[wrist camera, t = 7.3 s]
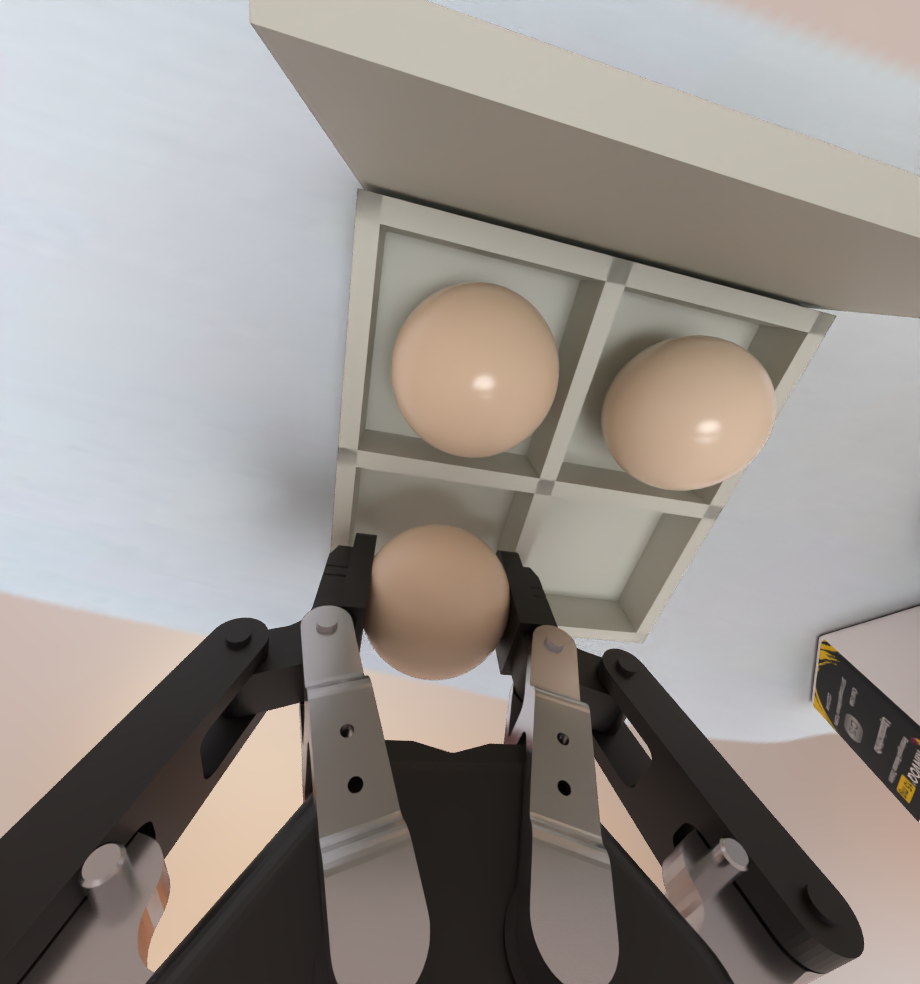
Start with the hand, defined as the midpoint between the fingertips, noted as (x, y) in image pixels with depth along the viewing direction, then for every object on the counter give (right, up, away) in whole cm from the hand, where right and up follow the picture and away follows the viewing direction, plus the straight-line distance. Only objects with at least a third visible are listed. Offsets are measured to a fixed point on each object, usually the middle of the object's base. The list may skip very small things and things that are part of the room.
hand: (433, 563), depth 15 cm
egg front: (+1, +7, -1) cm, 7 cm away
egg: (0, 0, +1) cm, 1 cm away
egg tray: (+4, +4, +2) cm, 6 cm away
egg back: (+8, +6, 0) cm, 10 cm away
